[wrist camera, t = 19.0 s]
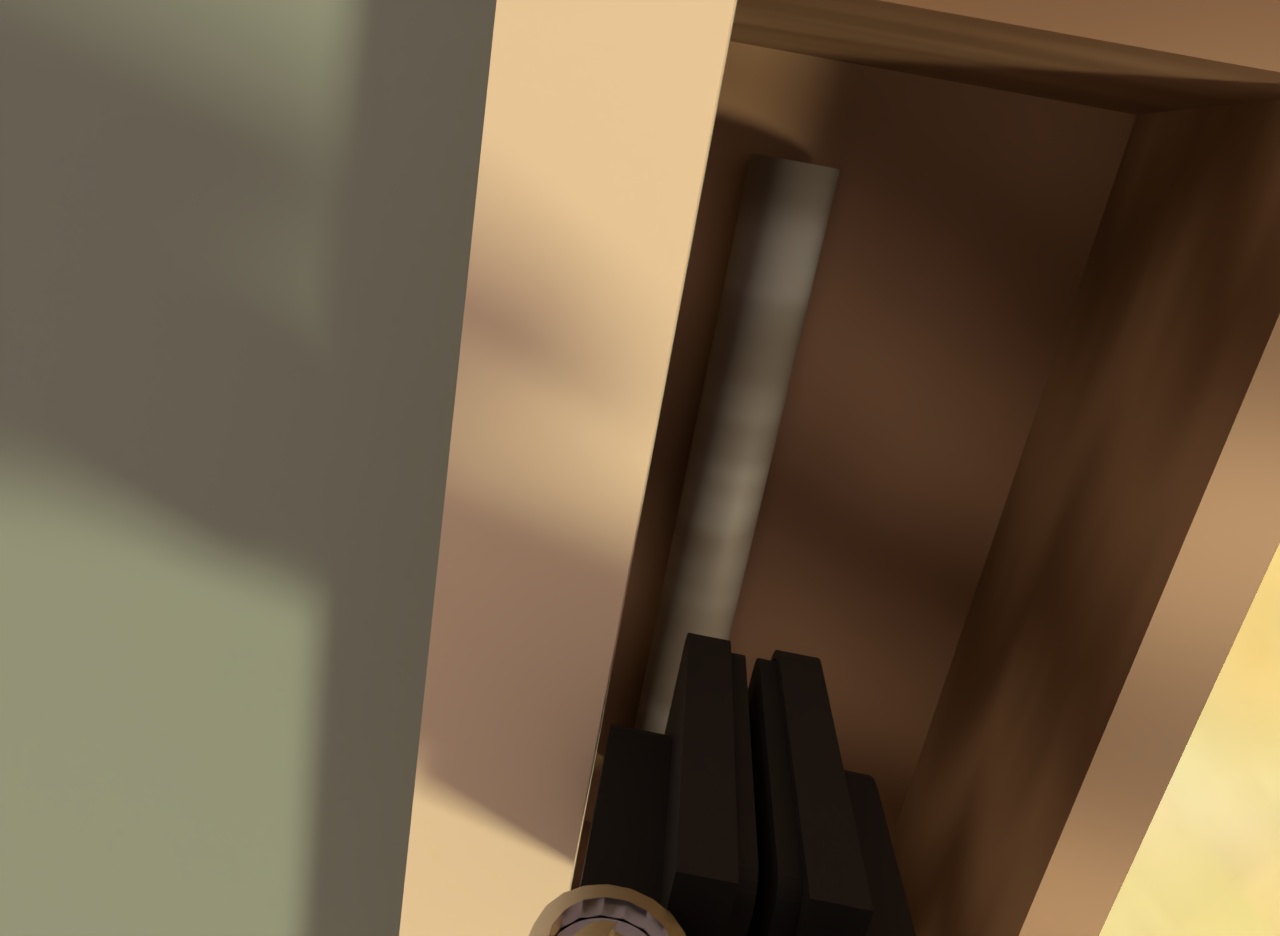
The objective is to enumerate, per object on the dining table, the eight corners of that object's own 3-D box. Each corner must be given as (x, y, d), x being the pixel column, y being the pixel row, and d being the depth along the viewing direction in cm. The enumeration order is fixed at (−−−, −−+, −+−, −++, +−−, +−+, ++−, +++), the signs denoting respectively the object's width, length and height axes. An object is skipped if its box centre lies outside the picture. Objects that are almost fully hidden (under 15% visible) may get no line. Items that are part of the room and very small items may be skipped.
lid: (529, 1108, 16) (490, 1307, 13) (-203, 959, 17) (-392, 1123, 14) (766, -151, 10) (786, -282, 7) (-474, -371, 10) (-953, -585, 7)
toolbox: (904, 893, 23) (981, 1189, 16) (377, 789, 23) (243, 1038, 17) (1200, 59, 16) (1532, -10, 10) (453, -75, 16) (277, -231, 10)
